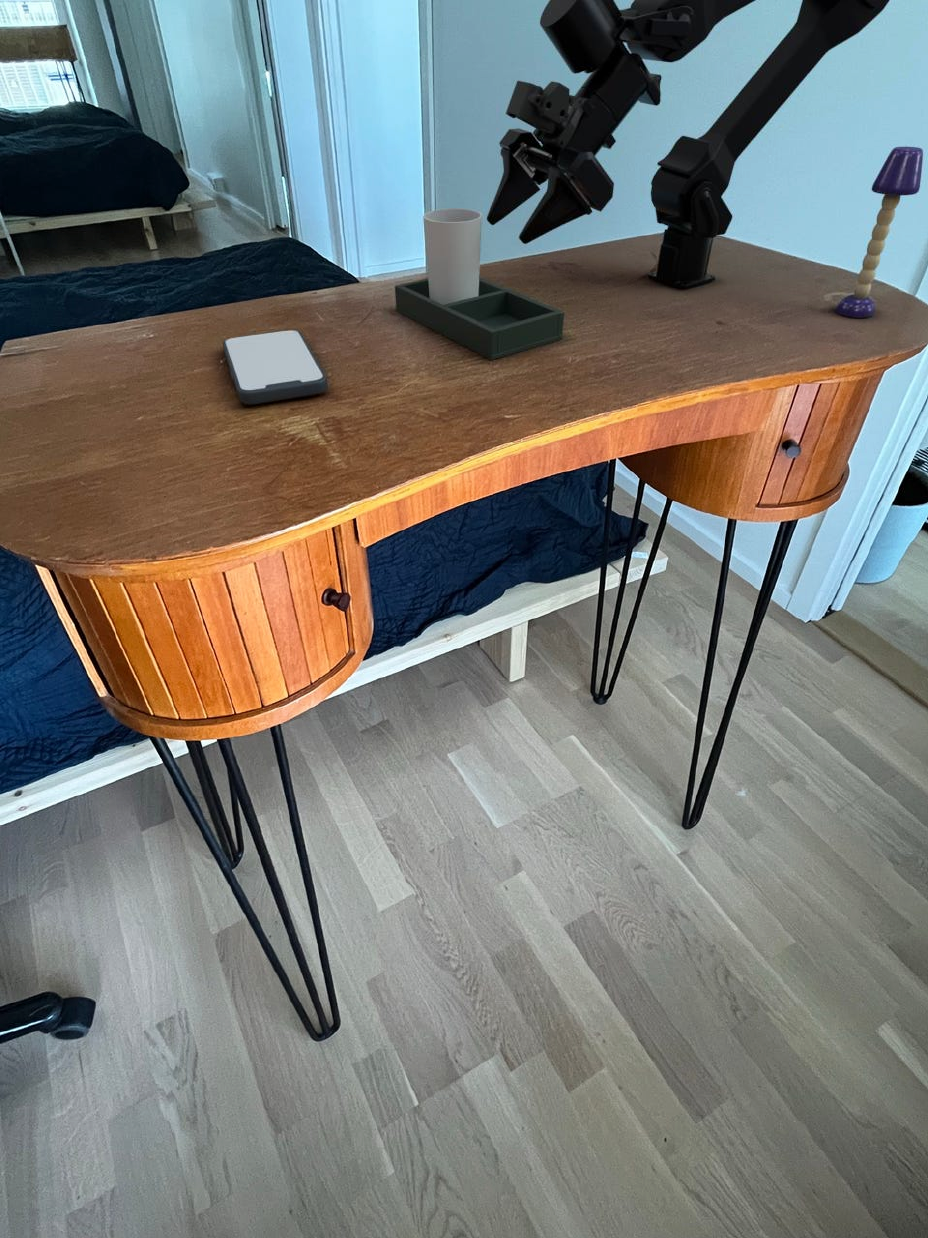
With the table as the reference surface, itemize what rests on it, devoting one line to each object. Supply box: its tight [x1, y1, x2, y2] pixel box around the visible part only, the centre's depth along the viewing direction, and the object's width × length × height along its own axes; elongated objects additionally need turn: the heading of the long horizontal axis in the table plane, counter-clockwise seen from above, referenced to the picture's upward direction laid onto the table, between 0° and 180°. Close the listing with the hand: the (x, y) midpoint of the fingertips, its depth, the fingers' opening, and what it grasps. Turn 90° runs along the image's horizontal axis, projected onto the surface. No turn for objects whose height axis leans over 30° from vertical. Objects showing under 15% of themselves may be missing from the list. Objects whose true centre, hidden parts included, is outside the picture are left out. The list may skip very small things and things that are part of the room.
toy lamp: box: [835, 146, 924, 319], centre depth 80 cm, size 5×5×17 cm
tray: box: [394, 276, 565, 361], centre depth 83 cm, size 10×19×3 cm, turn 36°
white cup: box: [422, 207, 483, 305], centre depth 83 cm, size 7×7×10 cm
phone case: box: [222, 329, 329, 406], centre depth 74 cm, size 9×2×16 cm
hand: (504, 231), depth 83 cm, fingers open, 9 cm apart
